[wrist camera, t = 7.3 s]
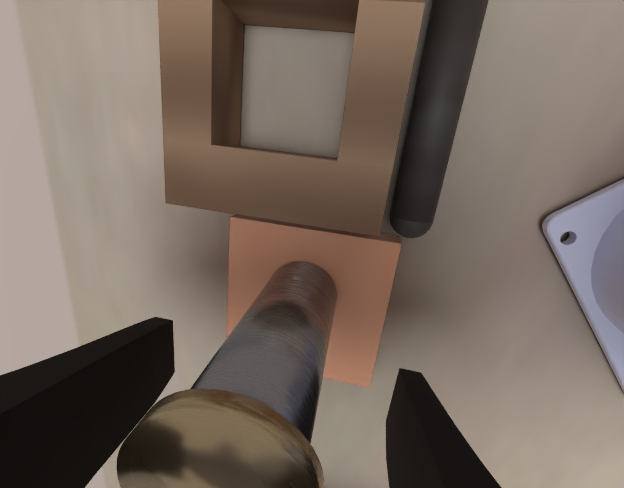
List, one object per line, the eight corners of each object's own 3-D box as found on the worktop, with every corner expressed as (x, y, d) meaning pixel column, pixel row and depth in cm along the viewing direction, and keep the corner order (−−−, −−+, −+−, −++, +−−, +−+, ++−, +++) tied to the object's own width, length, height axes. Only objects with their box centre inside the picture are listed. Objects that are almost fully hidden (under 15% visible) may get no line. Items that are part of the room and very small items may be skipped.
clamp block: (199, -64, 11) (153, -126, 8) (494, -55, 9) (537, -124, 7) (200, 200, 14) (165, 210, 11) (423, 234, 12) (437, 254, 10)
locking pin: (363, 309, 13) (362, 552, 5) (291, 344, 14) (202, 583, 6) (314, 235, 12) (228, 385, 4) (243, 278, 13) (78, 455, 6)
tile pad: (241, 211, 13) (230, 217, 12) (398, 235, 13) (401, 243, 11) (235, 341, 16) (226, 355, 15) (369, 369, 15) (369, 387, 14)
